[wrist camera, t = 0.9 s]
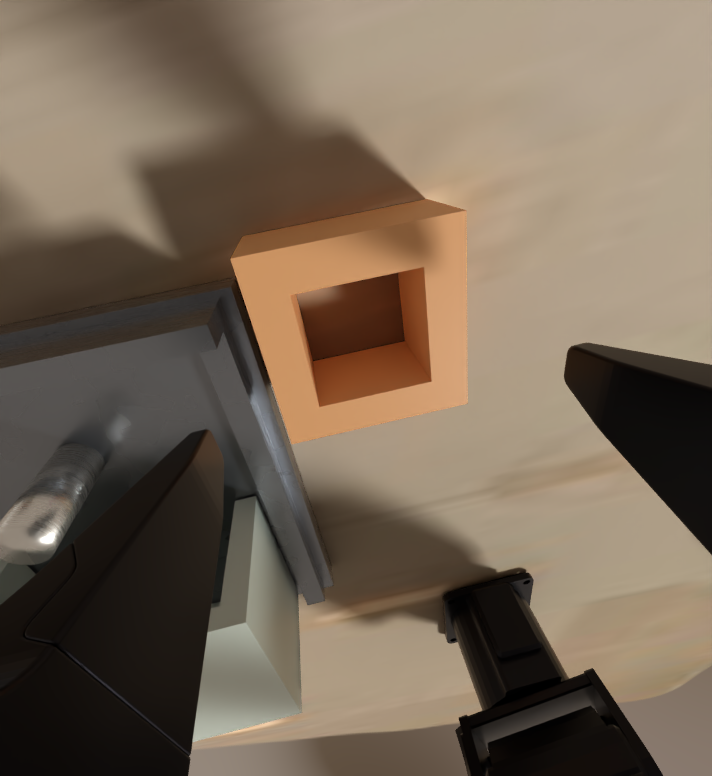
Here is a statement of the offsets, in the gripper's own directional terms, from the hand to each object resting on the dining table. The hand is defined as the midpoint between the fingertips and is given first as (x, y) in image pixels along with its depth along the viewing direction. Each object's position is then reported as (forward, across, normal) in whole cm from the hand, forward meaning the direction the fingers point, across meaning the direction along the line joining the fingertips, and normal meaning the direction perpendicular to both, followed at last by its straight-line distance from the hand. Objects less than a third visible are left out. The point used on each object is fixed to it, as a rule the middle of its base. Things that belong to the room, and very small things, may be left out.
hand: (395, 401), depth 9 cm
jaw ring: (+7, 0, 0) cm, 7 cm away
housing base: (+7, +12, +7) cm, 15 cm away
